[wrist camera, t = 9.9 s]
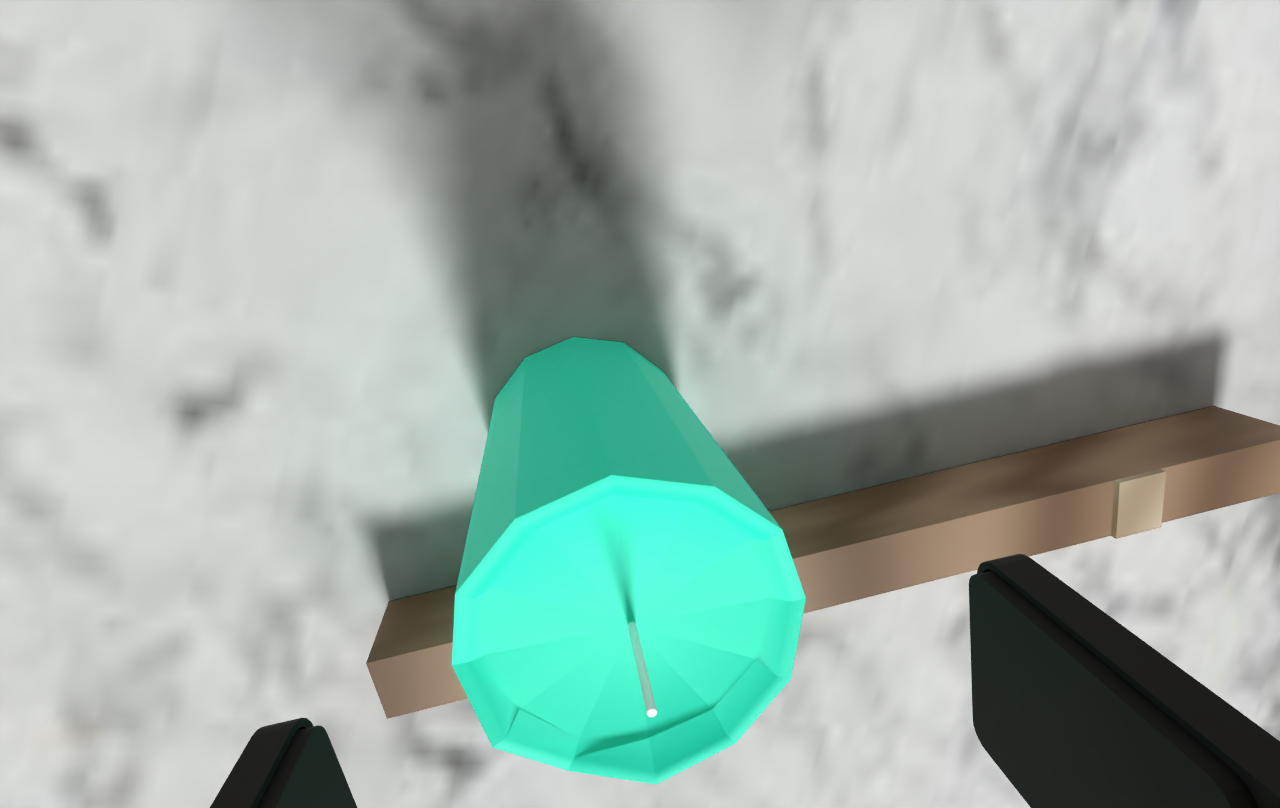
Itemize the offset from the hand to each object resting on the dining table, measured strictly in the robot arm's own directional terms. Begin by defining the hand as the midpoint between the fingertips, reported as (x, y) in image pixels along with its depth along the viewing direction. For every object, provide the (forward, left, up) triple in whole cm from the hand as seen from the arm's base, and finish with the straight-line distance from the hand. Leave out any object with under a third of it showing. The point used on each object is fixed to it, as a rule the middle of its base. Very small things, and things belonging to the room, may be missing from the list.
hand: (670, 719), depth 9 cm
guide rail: (-7, +5, -12) cm, 15 cm away
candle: (0, 0, -12) cm, 12 cm away
